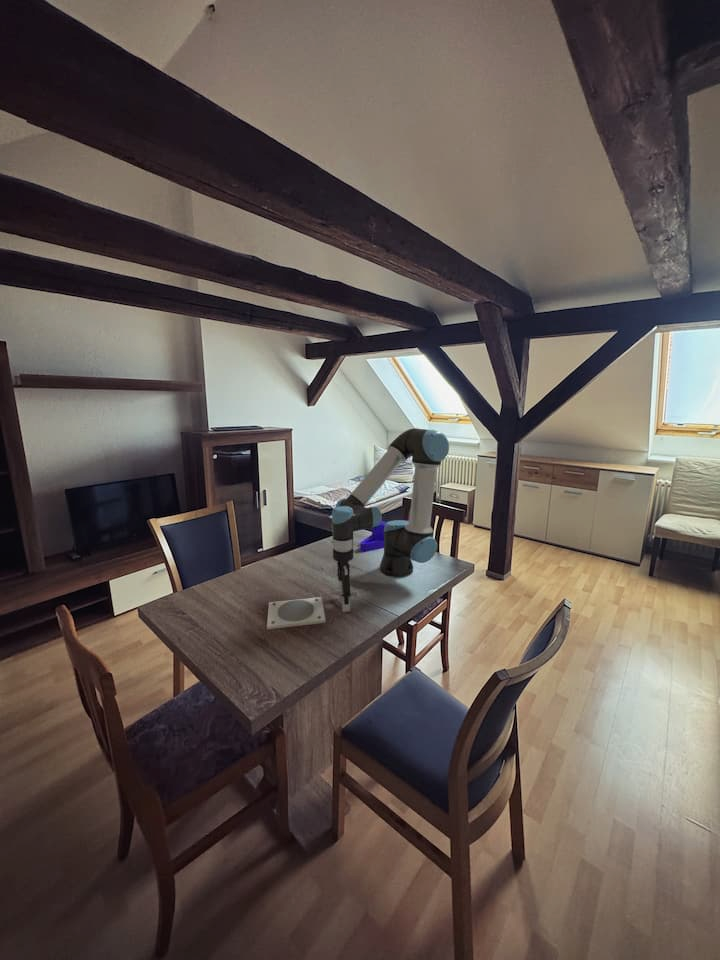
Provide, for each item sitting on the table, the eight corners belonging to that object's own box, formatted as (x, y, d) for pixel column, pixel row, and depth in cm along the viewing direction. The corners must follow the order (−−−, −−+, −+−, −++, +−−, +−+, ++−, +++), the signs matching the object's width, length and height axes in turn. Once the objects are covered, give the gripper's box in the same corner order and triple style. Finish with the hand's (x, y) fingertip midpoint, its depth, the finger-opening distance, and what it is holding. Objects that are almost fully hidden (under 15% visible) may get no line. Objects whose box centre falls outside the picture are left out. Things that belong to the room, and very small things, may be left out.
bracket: (377, 539, 210) (377, 519, 208) (392, 545, 203) (392, 524, 200) (354, 548, 198) (353, 527, 196) (369, 554, 191) (369, 532, 188)
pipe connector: (354, 613, 139) (353, 588, 136) (327, 610, 140) (327, 586, 138) (359, 599, 148) (359, 576, 146) (334, 597, 150) (334, 573, 148)
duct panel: (321, 599, 149) (321, 595, 148) (325, 622, 133) (325, 618, 133) (269, 604, 145) (268, 600, 145) (267, 629, 130) (266, 625, 129)
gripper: (329, 538, 149) (330, 589, 154) (336, 562, 128) (338, 621, 133) (348, 536, 151) (349, 588, 156) (358, 560, 129) (359, 618, 134)
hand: (344, 603), depth 144 cm, fingers closed on pipe connector, 10 cm apart
